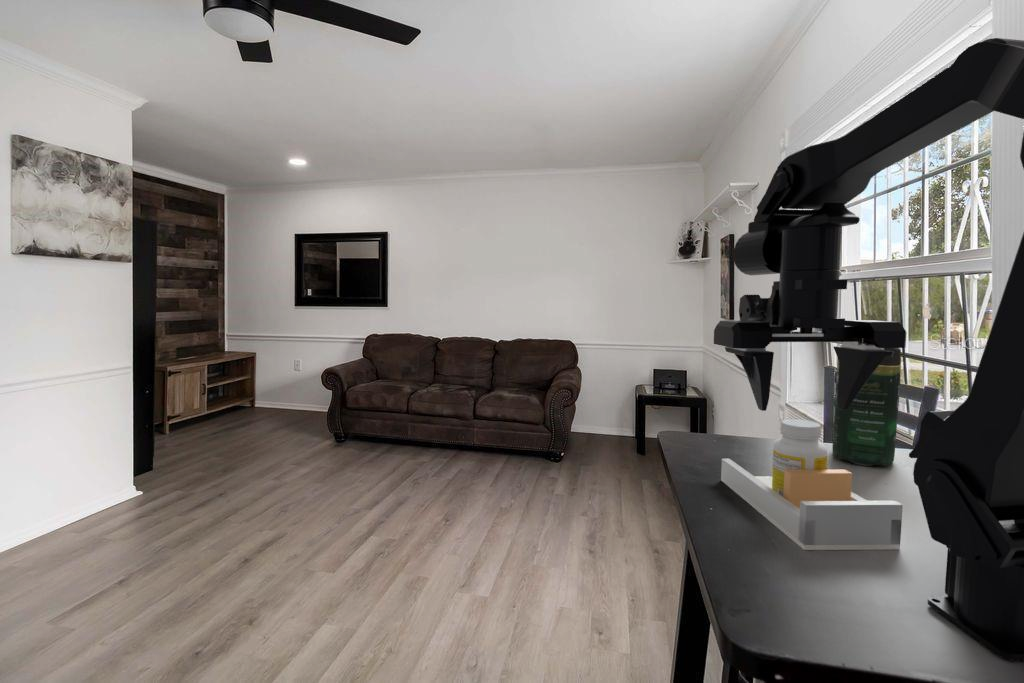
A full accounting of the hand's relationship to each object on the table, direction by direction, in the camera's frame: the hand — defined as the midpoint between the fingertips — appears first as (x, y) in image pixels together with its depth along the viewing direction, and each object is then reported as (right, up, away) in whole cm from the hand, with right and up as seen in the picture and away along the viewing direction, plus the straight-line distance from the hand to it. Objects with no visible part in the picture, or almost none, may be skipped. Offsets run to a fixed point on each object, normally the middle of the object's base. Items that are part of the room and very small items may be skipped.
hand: (802, 409), depth 57 cm
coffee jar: (+21, -10, +20) cm, 31 cm away
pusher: (0, -12, -2) cm, 12 cm away
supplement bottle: (0, -12, +1) cm, 12 cm away
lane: (0, -12, +1) cm, 12 cm away
